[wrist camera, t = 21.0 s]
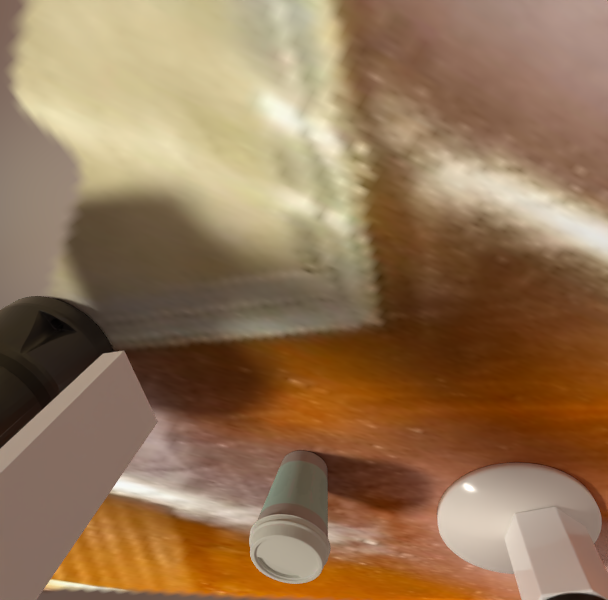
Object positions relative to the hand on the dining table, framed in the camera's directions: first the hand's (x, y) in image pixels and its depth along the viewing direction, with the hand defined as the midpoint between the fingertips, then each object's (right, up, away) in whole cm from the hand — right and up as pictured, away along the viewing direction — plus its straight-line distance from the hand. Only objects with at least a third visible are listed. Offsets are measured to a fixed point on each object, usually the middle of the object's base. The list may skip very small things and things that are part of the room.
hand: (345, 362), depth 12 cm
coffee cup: (-1, -19, +42) cm, 46 cm away
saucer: (+24, -25, +40) cm, 53 cm away
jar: (+27, -26, +39) cm, 54 cm away
